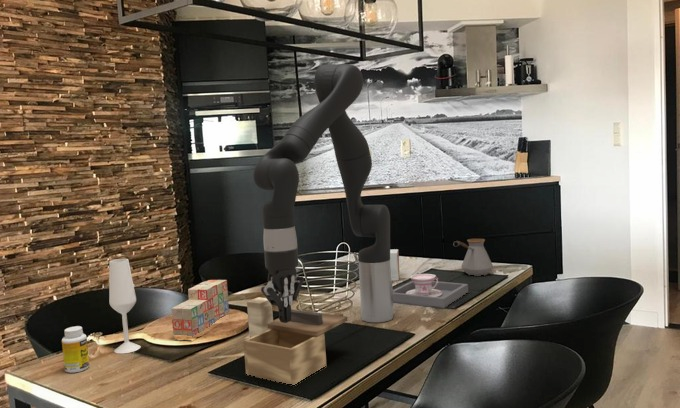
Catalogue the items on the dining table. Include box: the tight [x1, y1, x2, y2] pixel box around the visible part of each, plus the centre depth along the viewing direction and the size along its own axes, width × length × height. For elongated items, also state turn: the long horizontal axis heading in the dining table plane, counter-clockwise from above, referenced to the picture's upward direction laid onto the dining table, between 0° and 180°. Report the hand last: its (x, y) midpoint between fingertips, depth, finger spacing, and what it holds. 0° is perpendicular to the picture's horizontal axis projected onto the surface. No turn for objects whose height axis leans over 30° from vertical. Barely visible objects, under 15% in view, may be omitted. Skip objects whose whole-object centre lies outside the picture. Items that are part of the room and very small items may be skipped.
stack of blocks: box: [171, 279, 230, 337], centre depth 168 cm, size 21×6×12 cm, turn 163°
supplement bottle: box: [61, 325, 90, 374], centre depth 141 cm, size 6×6×10 cm
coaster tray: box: [393, 279, 469, 309], centre depth 188 cm, size 19×19×3 cm
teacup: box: [406, 273, 442, 297], centre depth 190 cm, size 12×12×6 cm
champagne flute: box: [108, 258, 142, 354], centre depth 154 cm, size 7×7×24 cm
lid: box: [267, 308, 349, 336], centre depth 140 cm, size 14×15×3 cm
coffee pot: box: [452, 238, 494, 277], centre depth 213 cm, size 21×12×15 cm, turn 140°
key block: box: [246, 296, 274, 338], centre depth 151 cm, size 4×4×12 cm
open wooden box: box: [243, 329, 327, 386], centre depth 133 cm, size 12×14×8 cm
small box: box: [390, 248, 401, 282], centre depth 217 cm, size 8×6×10 cm
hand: (285, 321), depth 133 cm, fingers closed
